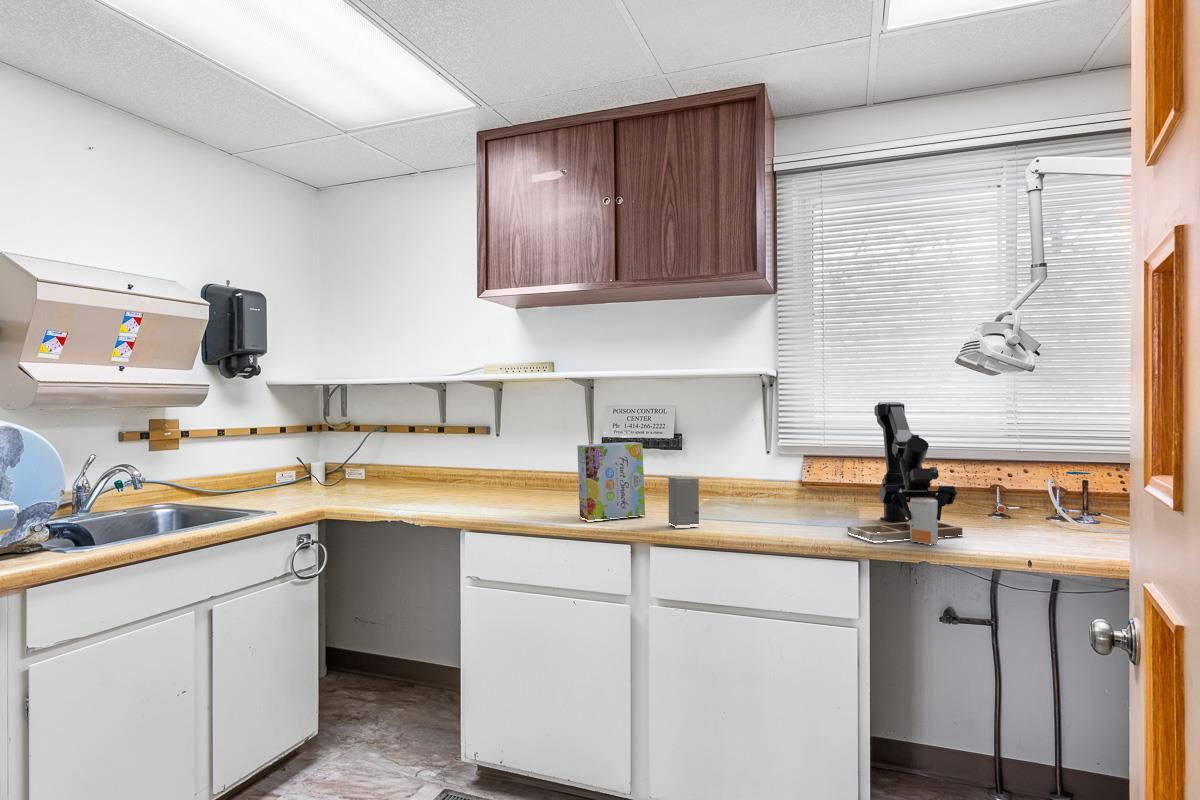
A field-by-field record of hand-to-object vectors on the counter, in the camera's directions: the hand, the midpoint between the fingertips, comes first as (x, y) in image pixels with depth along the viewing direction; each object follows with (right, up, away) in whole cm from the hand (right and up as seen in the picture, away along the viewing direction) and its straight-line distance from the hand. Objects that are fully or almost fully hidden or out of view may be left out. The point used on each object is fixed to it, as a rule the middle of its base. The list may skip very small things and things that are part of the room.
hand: (924, 519), depth 182 cm
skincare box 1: (-63, -8, +29) cm, 69 cm away
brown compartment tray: (-1, -7, +11) cm, 13 cm away
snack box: (-85, -8, +45) cm, 97 cm away
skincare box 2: (0, -7, +1) cm, 7 cm away
